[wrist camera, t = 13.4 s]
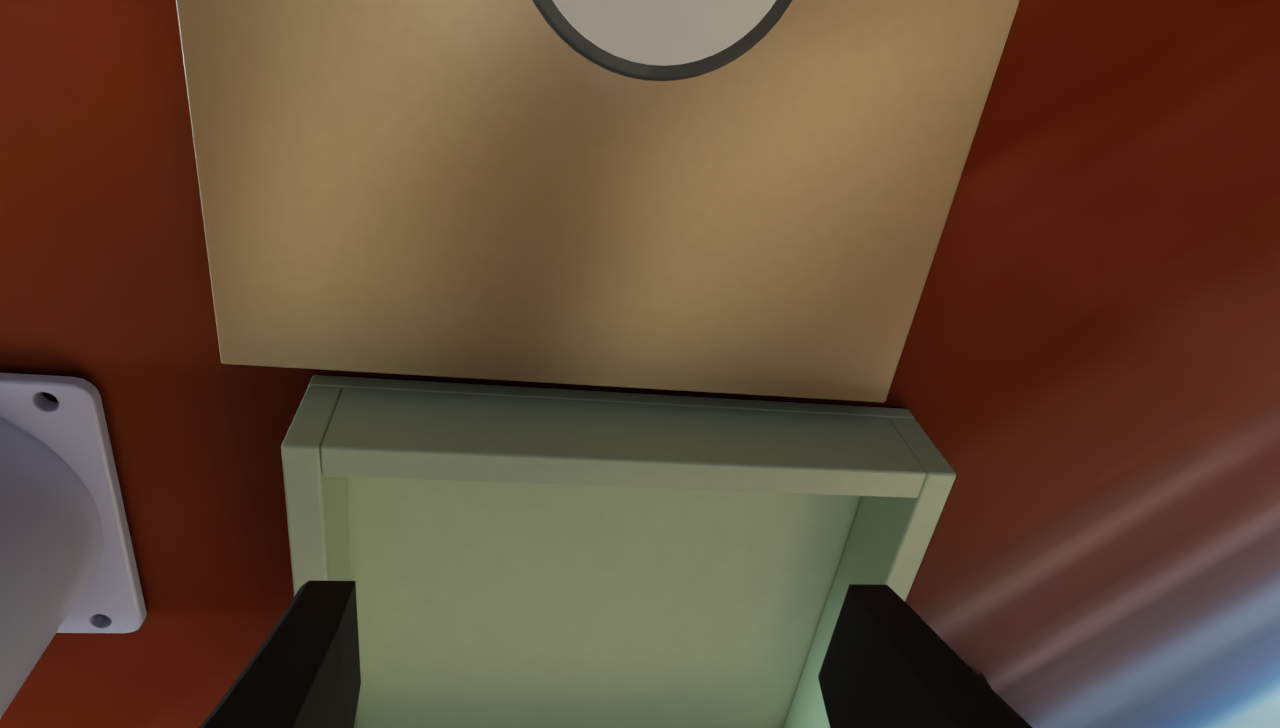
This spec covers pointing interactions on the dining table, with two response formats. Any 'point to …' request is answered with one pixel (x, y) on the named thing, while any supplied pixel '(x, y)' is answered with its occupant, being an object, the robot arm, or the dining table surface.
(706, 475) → the tray
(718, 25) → the sushi roll
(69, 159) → the dining table surface
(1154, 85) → the dining table surface
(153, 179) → the dining table surface
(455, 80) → the board
